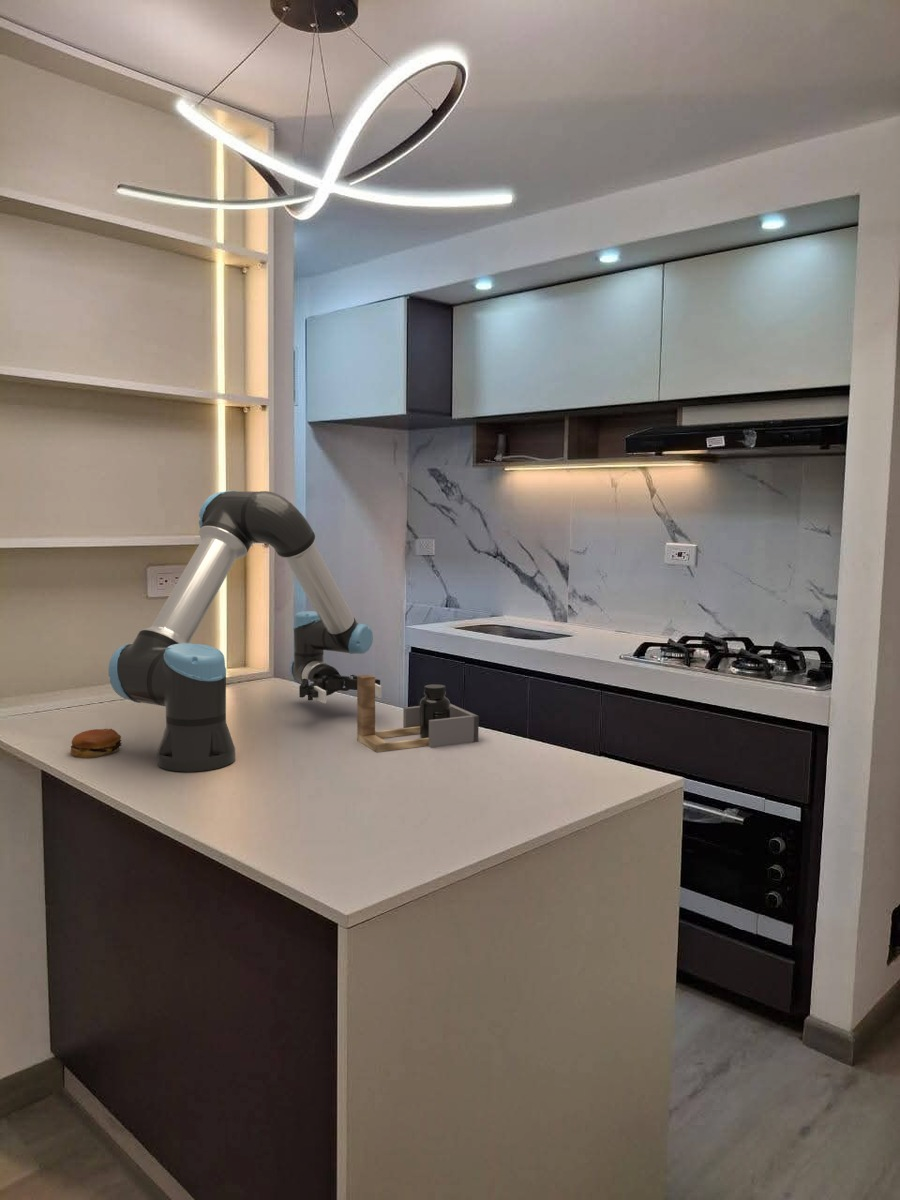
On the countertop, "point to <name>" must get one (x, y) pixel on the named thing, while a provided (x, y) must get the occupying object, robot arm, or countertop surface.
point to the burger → (95, 743)
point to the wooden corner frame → (367, 722)
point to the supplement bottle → (433, 707)
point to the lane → (446, 726)
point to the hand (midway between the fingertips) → (353, 694)
